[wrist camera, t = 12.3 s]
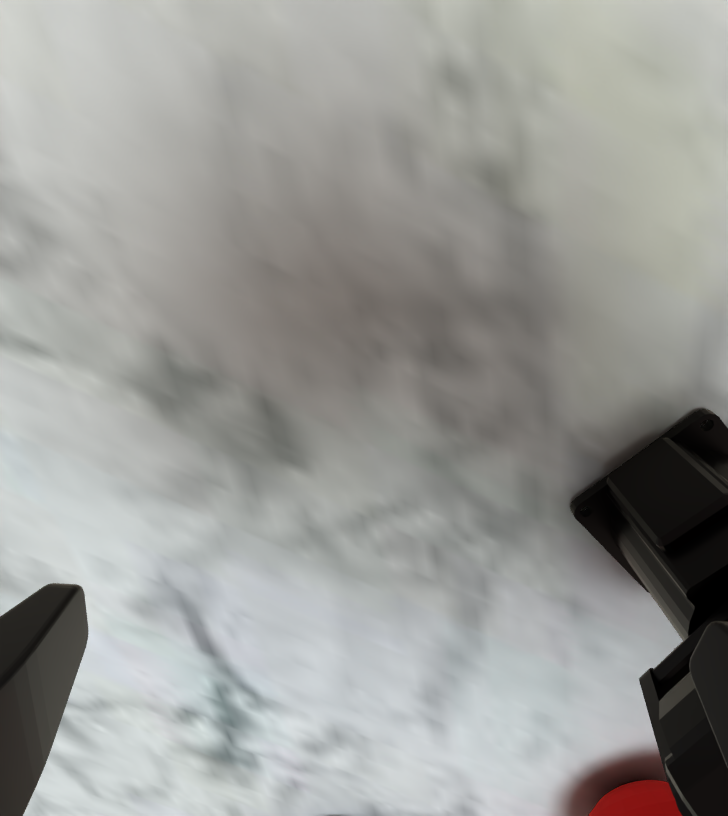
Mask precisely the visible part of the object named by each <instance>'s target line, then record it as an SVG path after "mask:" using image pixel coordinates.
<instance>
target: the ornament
mask: <svg viewBox="0 0 728 816" xmlns="http://www.w3.org/2000/svg"><path fill="white" fill-rule="evenodd" d="M588 816H682V815H681V813H680V811H679V810H678V807H677V805H676V801H675V798H674V796H673V794H672V791H671V789H670V786H669V783H668V782H665V781H659V780H642V781H635V782H631V783H627V784H624V785H621V786H619V787H617V788H615V789H613V790H611V791H610V792H608V793H607V794H605V795H604V796H603V797H602V798H601V799H600V800H599V801H598V803H597V804H596V805H595V807H594V808H593V810H592V811H591V812H590V814H589V815H588Z"/></svg>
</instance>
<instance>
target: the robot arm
mask: <svg viewBox="0 0 728 816" xmlns="http://www.w3.org/2000/svg"><path fill="white" fill-rule="evenodd" d="M705 420H707V423H706V424H705V425H703V426H701V424H702V423H703V421H705ZM700 426H701V427H700ZM586 506H588V508H587V509H586V510H584V511H581V509H582V508H584V507H586ZM571 511H572V513H573V515H574V516H575V518H576V519H577V520H578V521H579V522H580V523H581V524H582V525H583V526H584V527H585V528H586V529H587V530H588V531H589V533H590V534H591V535H592V536H593V537H594V538H595V539H596V540H597V541H598V542H599V543H600V544H601V545H602V546H603V547H604V548H605V549H606V550H607V551H608V552H609V553H610V554H611V555H612V556H613V557H614V558H615V559H616V560H617V561H618V562H619V563H620V564H621V565H622V566H623V567H624V568H625V569H626V570H627V571H628V572H629V574H630V575H631V576H632V577H633V578H634V579H635V580H636V581H637V582H638V583H639V584H640V585H641V586H642V587H643V588H644V589H645V590H646V591H647V592H649V593H650V594H651V595H652V597H653V598H654V600H655V601H656V603H657V604H658V605H659V607H660V608H661V610H662V611H663V613H664V614H665V615H666V617H667V618H668V620H669V621H670V623H671V624H672V625H673V627H674V628H675V630H676V631H677V633H678V634H679V635H680V637H681V638H682V640H683V642H682V643H681V644H680V645H679V646H678V647H677V648H675V649H674V650H673V651H672V652H671V653H670V654H669V655H668V656H667V657H666V658H665V659H664V660H663V661H662V662H661V663H660V664H659V665H658V666H657V667H655V668H654V669H653V668H650V669H649V670H648V671H647V672H646V673H644V674H643V675H642V676H641V677H640V678H639V681H640V685H641V688H642V692H643V695H644V699H645V702H646V706H647V710H648V713H649V717H650V720H651V724H652V727H653V731H654V735H655V738H656V742H657V745H658V749H659V752H660V756H661V760H662V763H663V767H664V770H665V774H666V777H667V781H668V783H669V786H670V789H671V791H672V794H673V796H674V798H675V801H676V805H677V807H678V810H679V811H680V813H681V815H682V816H728V428H727V427H726V426H725V424H724V423H723V422H722V420H721V419H720V418H719V417H718V416H717V415H716V414H714V413H713V412H711V411H710V410H707V409H702V410H698V411H696V412H694V413H693V414H692V415H690V416H689V417H688V418H686V419H685V420H683V421H682V422H681V423H679V424H678V425H677V426H675V427H674V428H672V429H671V430H670V431H668V432H667V433H665V434H664V435H663V436H661V437H660V438H659V439H657V440H656V441H654V442H653V443H652V444H650V445H649V446H648V447H646V448H645V449H643V450H642V451H641V452H639V453H638V454H637V455H635V456H634V457H632V458H631V459H630V460H628V461H627V462H625V463H624V464H623V465H621V466H620V467H619V468H617V469H616V470H614V471H613V472H612V473H610V474H609V475H608V476H606V477H605V478H603V479H602V480H601V481H599V482H598V483H597V484H595V485H594V486H592V487H591V488H590V489H588V490H587V491H585V492H584V493H583V494H581V495H580V496H579V497H577V498H576V499H575V500H574V501H573V502H572V504H571ZM87 640H88V622H87V613H86V604H85V595H84V591H83V589H82V587H81V586H79V585H76V584H59V583H52V584H48V585H46V586H44V587H42V588H41V589H39V590H38V591H37V592H35V593H34V594H32V595H31V596H29V597H28V598H27V599H25V600H24V601H22V602H21V603H19V604H18V605H16V606H15V607H14V608H12V609H11V610H9V611H8V612H6V613H5V614H4V615H2V616H1V617H0V816H23V814H24V812H25V810H26V807H27V805H28V803H29V801H30V799H31V796H32V794H33V792H34V790H35V788H36V785H37V783H38V781H39V778H40V776H41V774H42V771H43V769H44V767H45V764H46V761H47V759H48V756H49V753H50V750H51V748H52V745H53V742H54V739H55V736H56V733H57V730H58V727H59V724H60V721H61V718H62V716H63V713H64V710H65V707H66V704H67V701H68V698H69V695H70V692H71V689H72V686H73V683H74V680H75V677H76V675H77V672H78V669H79V666H80V663H81V660H82V657H83V654H84V651H85V648H86V644H87Z"/></svg>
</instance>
